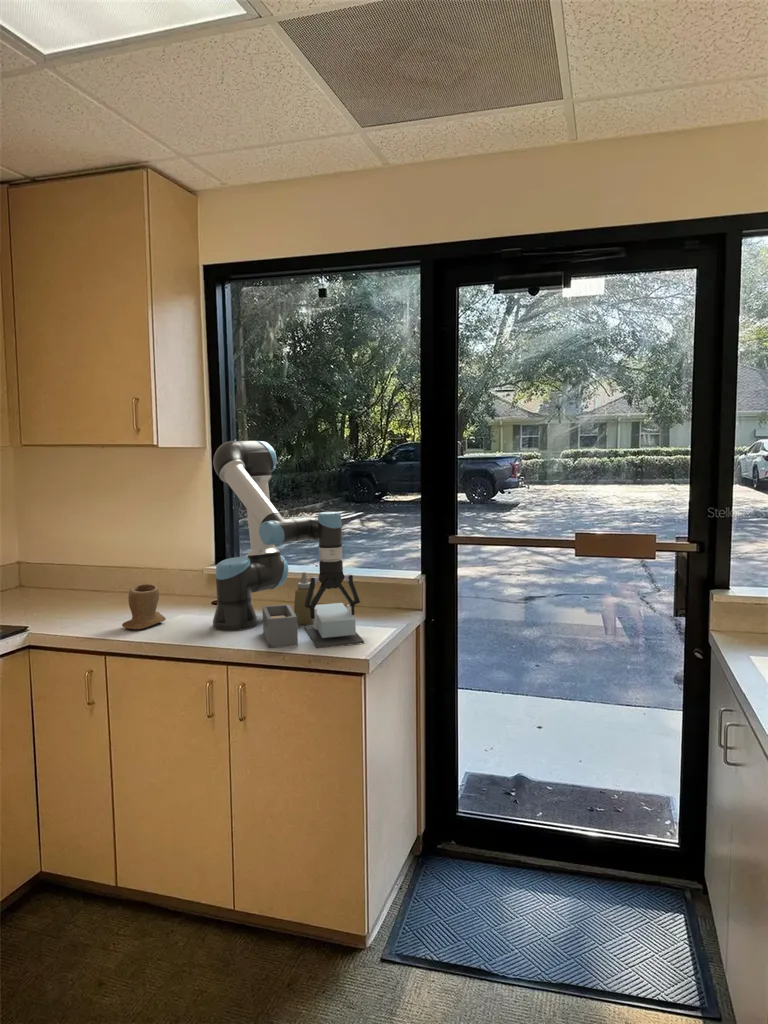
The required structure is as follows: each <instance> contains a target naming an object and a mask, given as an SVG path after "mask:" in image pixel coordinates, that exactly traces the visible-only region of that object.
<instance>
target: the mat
mask: <svg viewBox="0 0 768 1024" xmlns="http://www.w3.org/2000/svg"><path fill="white" fill-rule="evenodd" d="M303 626H304V625H303ZM304 630H305V631H307V632H306V633H307V635H308V637H309V636H310V637H309V638H310V640H311V641H313V642H312V643H313V645H314V646H316V647H315V648H316V649H321V648H322V649H323V648H333V647H332V646H334V647H342V646H341V645H344V646H349V645H348V644H354V645H358V644H357V643H364V644H365V640H364V639H363V638H362V637H361V636H360V634H359V633H358V632H356V635H347V636H337V637H327V638H322V637H321V635H320V633H319V631H318V630H317V629H315V628H314V624H311V625H305V626H304Z"/></svg>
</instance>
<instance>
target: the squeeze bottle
mask: <svg viewBox="0 0 768 1024" xmlns="http://www.w3.org/2000/svg"><path fill="white" fill-rule="evenodd" d="M309 586H310V581H309V580H308V576H307V572H306V571H305V572H302V573H301V578H300V582H297V589H296V590H295V591H294V607H293V611H294V613H295V614H296V616H297V625H302V626H304V625H305V626H308V625H313V624H314V623H313V621H312V619H311V617H310V608H306V607H305V606H304V603H305V600H306V596H307V593H308V590H309ZM315 595H316V594H315V590H314V591H313V594H312V598H311V601H310V604H311V602H312V601H313V599H314V597H315ZM307 624H308V625H307Z"/></svg>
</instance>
